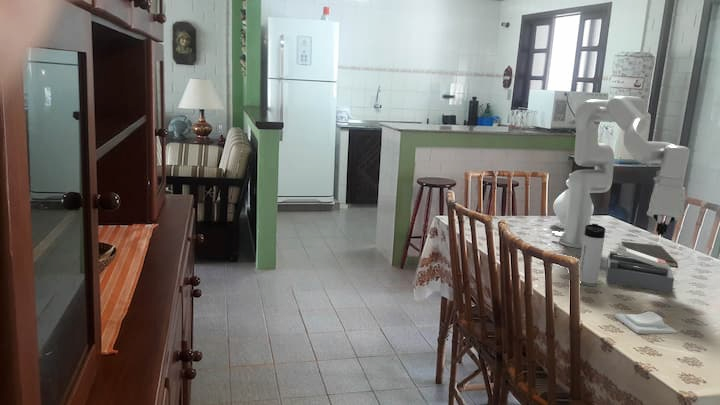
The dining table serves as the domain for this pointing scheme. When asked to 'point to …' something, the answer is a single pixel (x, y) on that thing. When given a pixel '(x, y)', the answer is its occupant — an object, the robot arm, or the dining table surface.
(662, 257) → the hardcover book
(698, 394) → the dining table surface
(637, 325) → the light switch
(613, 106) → the robot arm
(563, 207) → the decorative vase
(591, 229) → the travel mug
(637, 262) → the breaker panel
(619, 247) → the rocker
